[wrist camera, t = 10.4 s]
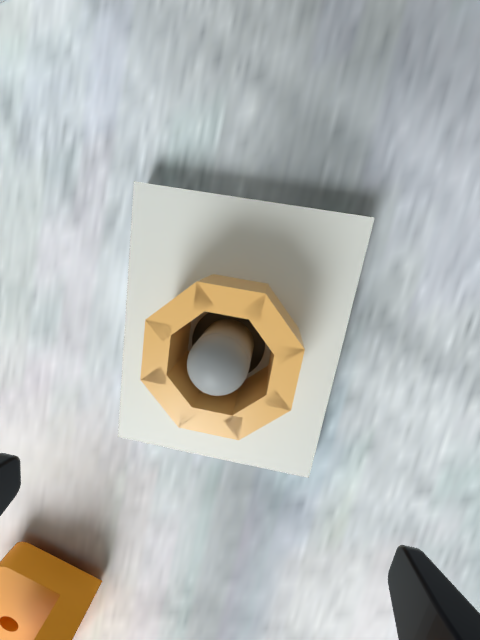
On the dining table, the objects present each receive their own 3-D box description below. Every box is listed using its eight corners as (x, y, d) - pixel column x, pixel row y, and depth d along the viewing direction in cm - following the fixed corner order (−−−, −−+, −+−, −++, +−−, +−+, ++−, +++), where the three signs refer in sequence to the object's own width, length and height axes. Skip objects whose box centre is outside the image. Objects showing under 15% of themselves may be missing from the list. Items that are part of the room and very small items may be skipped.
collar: (307, 290, 16) (315, 302, 12) (280, 410, 17) (282, 449, 14) (175, 267, 16) (149, 272, 13) (162, 386, 18) (136, 418, 15)
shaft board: (365, 220, 16) (418, 204, 10) (306, 460, 20) (319, 552, 14) (146, 186, 17) (76, 155, 11) (129, 423, 21) (70, 494, 15)
